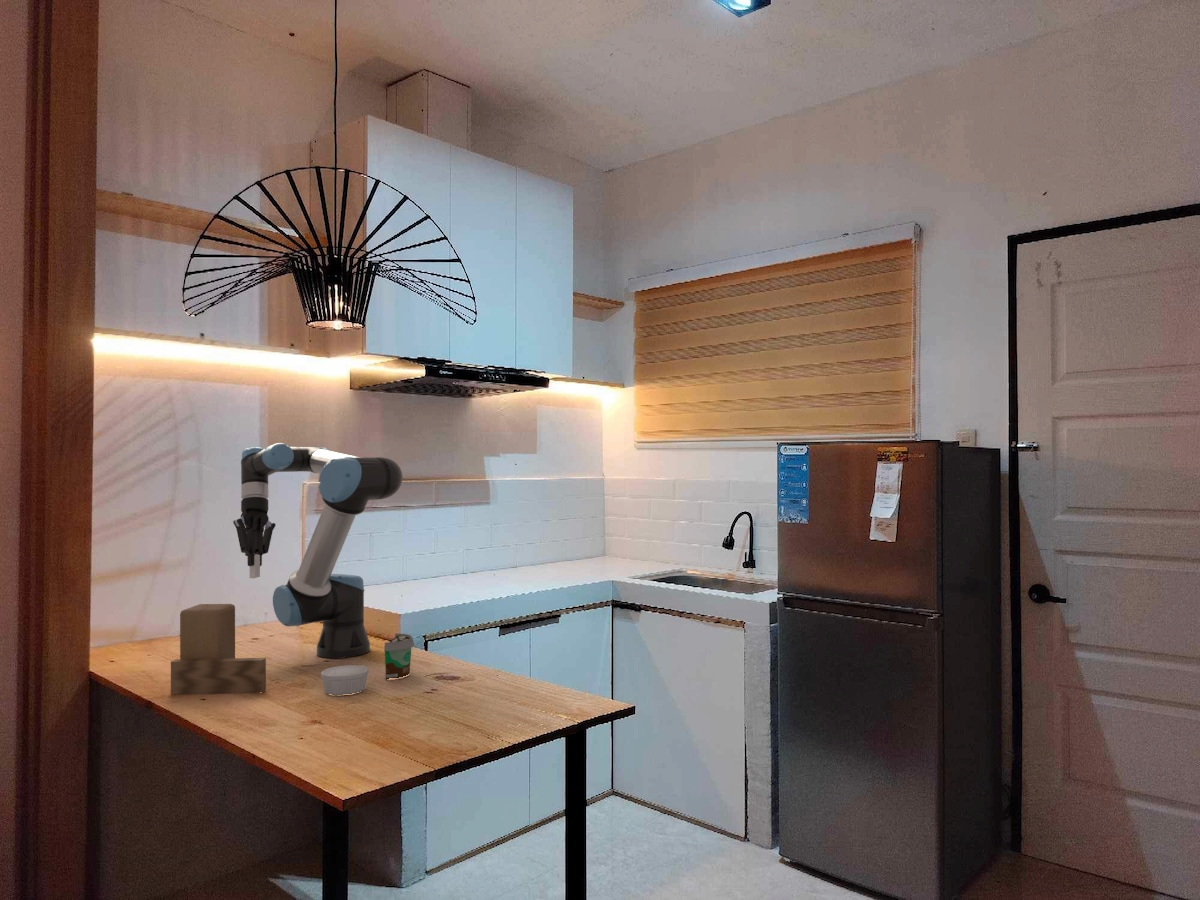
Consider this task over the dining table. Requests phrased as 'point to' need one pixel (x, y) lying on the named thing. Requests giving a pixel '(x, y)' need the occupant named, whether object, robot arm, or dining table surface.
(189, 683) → the board
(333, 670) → the ramekin
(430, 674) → the dining table surface
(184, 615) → the block
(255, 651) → the dining table surface
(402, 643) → the food container
